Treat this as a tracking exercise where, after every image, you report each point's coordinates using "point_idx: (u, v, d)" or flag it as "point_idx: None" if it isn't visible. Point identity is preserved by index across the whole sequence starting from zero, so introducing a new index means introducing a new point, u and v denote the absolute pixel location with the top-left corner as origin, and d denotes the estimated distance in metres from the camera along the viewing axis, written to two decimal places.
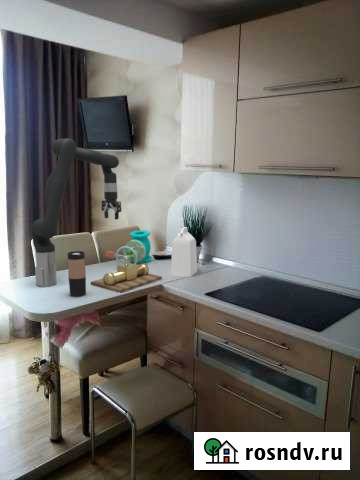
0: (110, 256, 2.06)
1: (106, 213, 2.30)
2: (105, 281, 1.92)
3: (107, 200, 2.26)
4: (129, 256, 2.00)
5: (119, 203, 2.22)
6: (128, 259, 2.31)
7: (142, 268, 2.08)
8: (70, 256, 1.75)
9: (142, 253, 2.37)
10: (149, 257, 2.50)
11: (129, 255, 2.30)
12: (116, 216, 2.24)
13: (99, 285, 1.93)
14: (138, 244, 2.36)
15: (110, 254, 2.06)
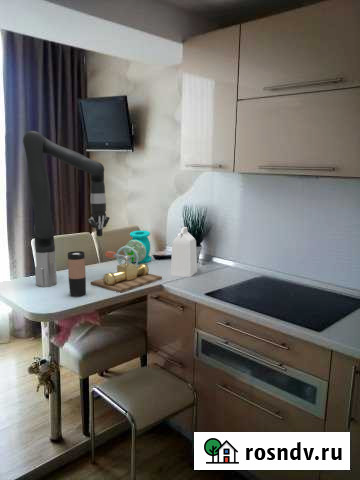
0: (110, 256, 2.06)
1: None
2: (105, 281, 1.92)
3: (97, 213, 1.95)
4: (129, 256, 2.00)
5: None
6: (129, 259, 2.31)
7: (142, 268, 2.08)
8: (70, 256, 1.75)
9: (142, 253, 2.37)
10: (149, 257, 2.50)
11: (130, 255, 2.30)
12: (101, 232, 2.00)
13: (99, 285, 1.93)
14: (138, 244, 2.36)
15: (110, 254, 2.06)
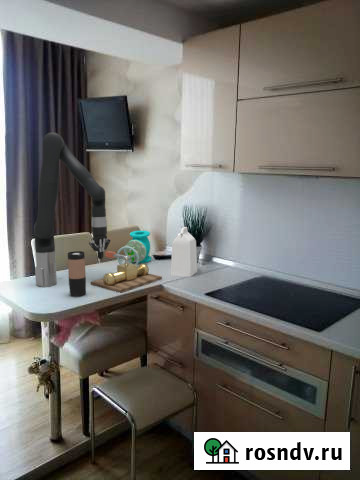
0: (110, 256, 2.06)
1: None
2: (105, 281, 1.92)
3: (98, 236, 1.97)
4: (129, 256, 2.00)
5: None
6: None
7: (142, 268, 2.08)
8: (70, 256, 1.75)
9: (143, 253, 2.37)
10: (149, 257, 2.50)
11: (130, 255, 2.30)
12: (102, 255, 2.02)
13: (99, 285, 1.93)
14: (139, 244, 2.36)
15: (110, 254, 2.06)
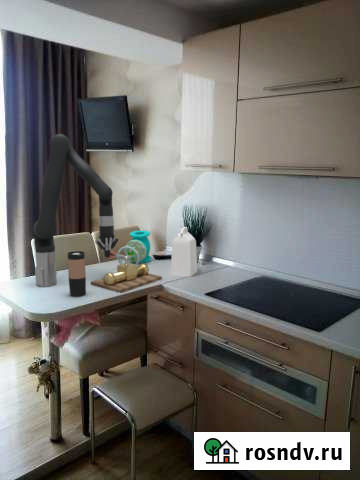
0: (110, 256, 2.06)
1: None
2: (105, 281, 1.92)
3: (104, 235, 2.01)
4: (129, 256, 2.00)
5: None
6: (129, 259, 2.31)
7: (142, 268, 2.08)
8: (70, 256, 1.75)
9: (143, 253, 2.37)
10: (149, 257, 2.50)
11: (130, 255, 2.30)
12: (109, 253, 2.05)
13: (99, 285, 1.93)
14: (139, 244, 2.36)
15: (110, 254, 2.06)
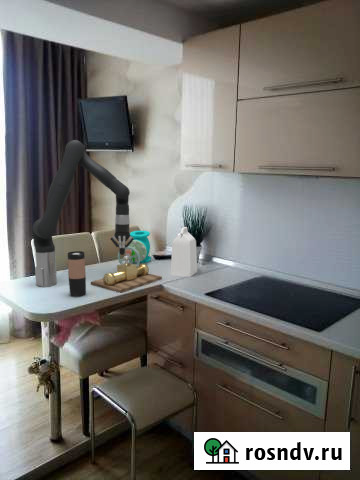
0: None
1: None
2: (105, 281, 1.92)
3: (118, 233, 2.08)
4: (128, 257, 1.99)
5: (132, 240, 2.10)
6: None
7: (142, 268, 2.08)
8: (70, 256, 1.75)
9: (143, 253, 2.37)
10: (149, 257, 2.50)
11: (131, 255, 2.29)
12: (123, 251, 2.10)
13: (99, 285, 1.93)
14: (139, 244, 2.36)
15: None
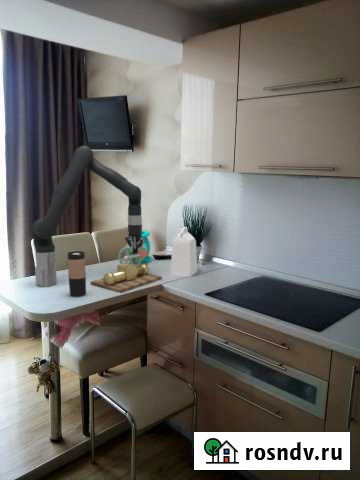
0: None
1: None
2: (105, 281, 1.92)
3: (131, 233, 2.09)
4: (126, 257, 1.99)
5: (143, 241, 2.07)
6: (130, 259, 2.31)
7: (142, 268, 2.08)
8: (70, 256, 1.75)
9: None
10: (148, 257, 2.50)
11: None
12: (135, 252, 2.10)
13: (99, 285, 1.93)
14: None
15: None
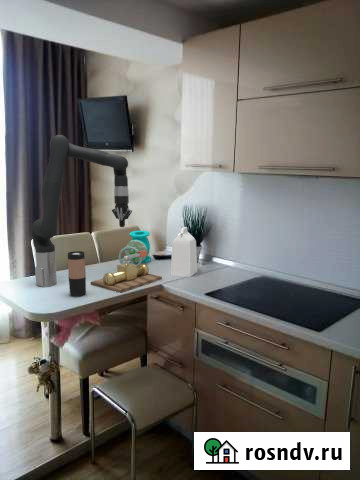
0: None
1: None
2: (105, 281, 1.92)
3: (117, 205, 2.09)
4: (126, 257, 1.99)
5: (130, 212, 2.06)
6: None
7: (142, 268, 2.08)
8: (70, 256, 1.75)
9: None
10: (148, 257, 2.50)
11: None
12: (122, 224, 2.09)
13: (99, 285, 1.93)
14: (140, 244, 2.35)
15: None
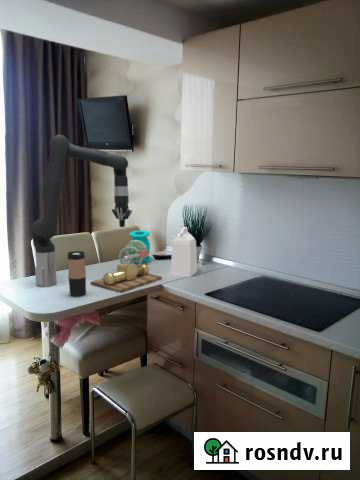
0: None
1: None
2: (105, 281, 1.92)
3: (117, 205, 2.09)
4: (126, 257, 1.99)
5: (130, 212, 2.06)
6: (131, 259, 2.30)
7: (142, 268, 2.08)
8: (70, 256, 1.75)
9: None
10: (148, 257, 2.50)
11: None
12: (122, 224, 2.09)
13: (99, 285, 1.93)
14: (140, 244, 2.35)
15: None
